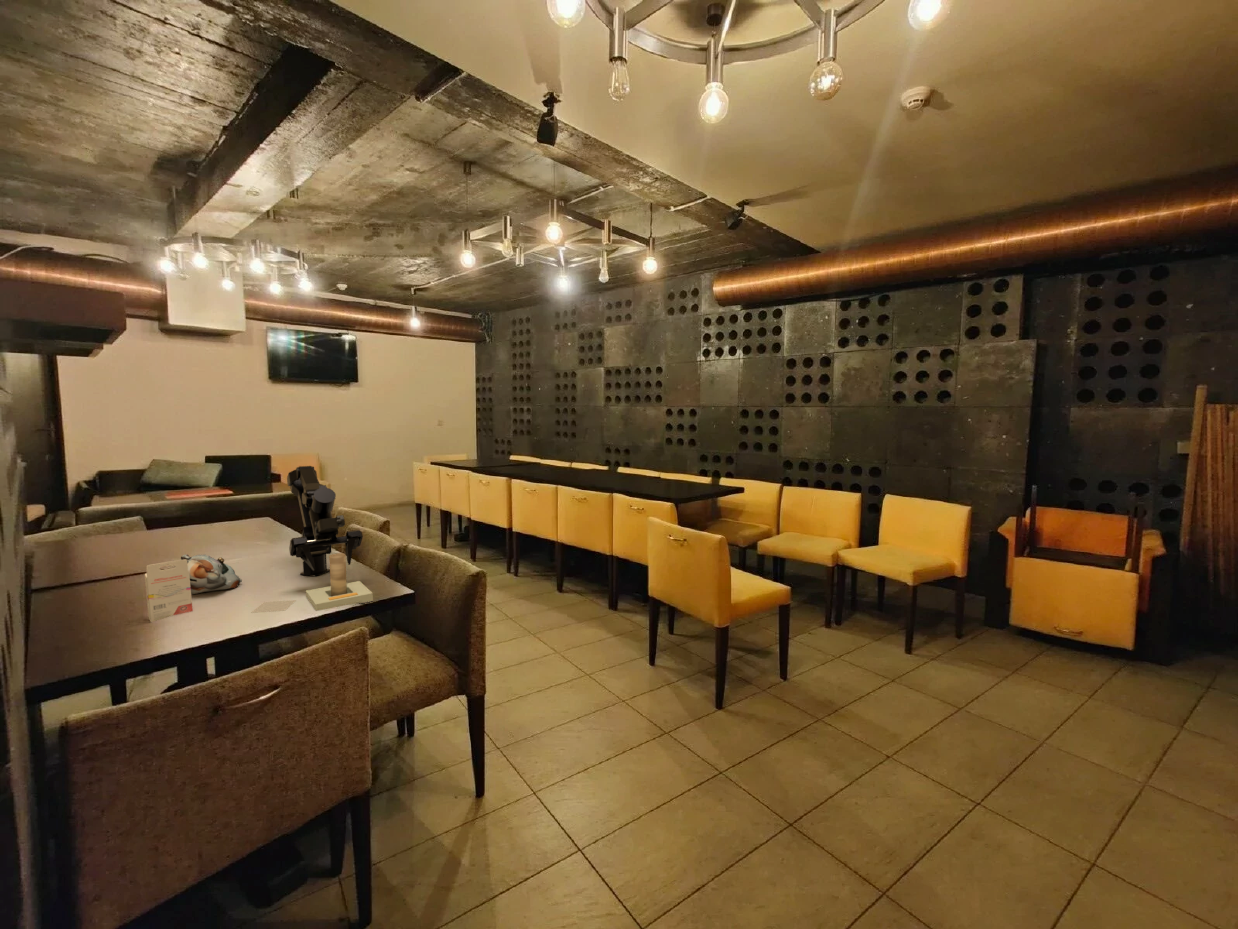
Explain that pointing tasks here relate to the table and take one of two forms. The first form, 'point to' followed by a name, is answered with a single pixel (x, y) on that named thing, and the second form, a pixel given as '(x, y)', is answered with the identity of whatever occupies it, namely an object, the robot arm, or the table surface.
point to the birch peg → (338, 574)
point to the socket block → (338, 596)
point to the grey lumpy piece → (210, 574)
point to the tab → (274, 606)
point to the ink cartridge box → (168, 590)
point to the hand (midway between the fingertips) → (332, 566)
